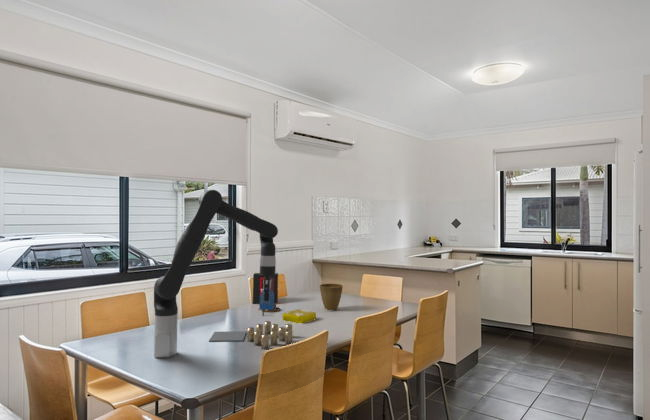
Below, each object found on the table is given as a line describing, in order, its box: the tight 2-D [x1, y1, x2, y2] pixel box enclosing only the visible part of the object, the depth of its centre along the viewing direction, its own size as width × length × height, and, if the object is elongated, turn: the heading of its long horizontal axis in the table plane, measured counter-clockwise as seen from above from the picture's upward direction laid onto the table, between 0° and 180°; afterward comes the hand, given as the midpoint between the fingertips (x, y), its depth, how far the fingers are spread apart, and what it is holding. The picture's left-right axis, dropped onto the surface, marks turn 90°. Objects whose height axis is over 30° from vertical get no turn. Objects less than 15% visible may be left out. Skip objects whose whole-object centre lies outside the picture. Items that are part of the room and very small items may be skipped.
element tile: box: [282, 308, 317, 324], centre depth 250 cm, size 15×15×5 cm
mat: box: [208, 330, 247, 343], centre depth 212 cm, size 16×16×1 cm
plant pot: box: [319, 283, 343, 310], centre depth 278 cm, size 15×15×16 cm
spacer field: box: [246, 320, 293, 350], centre depth 207 cm, size 28×22×6 cm
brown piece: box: [260, 303, 281, 317], centre depth 270 cm, size 18×20×6 cm
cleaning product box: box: [252, 272, 279, 305], centre depth 298 cm, size 16×9×20 cm, turn 94°
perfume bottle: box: [258, 284, 274, 311], centre depth 207 cm, size 6×6×12 cm
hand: (266, 299), depth 207 cm, fingers closed on perfume bottle, 6 cm apart
